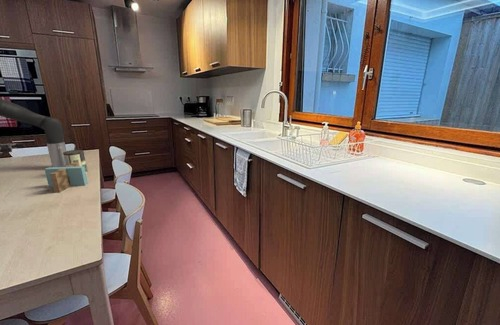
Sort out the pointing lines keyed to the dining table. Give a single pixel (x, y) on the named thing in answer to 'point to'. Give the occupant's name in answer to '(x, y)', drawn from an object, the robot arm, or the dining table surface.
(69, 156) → the coffee can
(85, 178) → the cross plate
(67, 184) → the base plate
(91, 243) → the dining table surface
